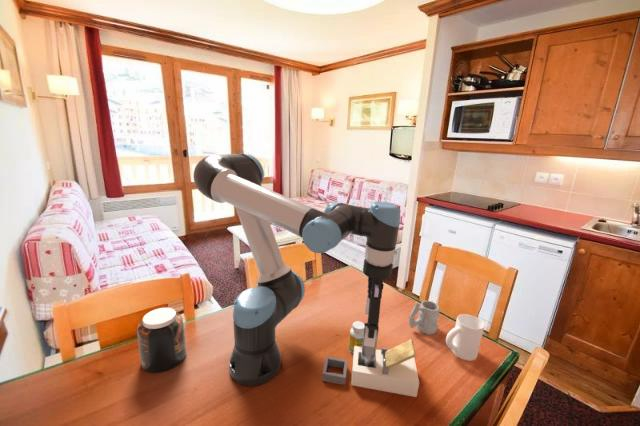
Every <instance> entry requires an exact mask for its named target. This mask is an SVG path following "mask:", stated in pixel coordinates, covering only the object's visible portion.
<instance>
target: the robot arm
mask: <svg viewBox="0 0 640 426" xmlns="http://www.w3.org/2000/svg"><path fill="white" fill-rule="evenodd" d="M264 177H265V172H264V167H263V165H262V163H261V162H260V161H259V159H258V158H256V157H255V156H254V155H251V154H249V153H248V154H247V153H242V152H241V153H240V152H236V153H230V154H228V153H227V154H211V155H207V156H205V157H203V158H202V159H200V160H199V161H198V162H197V163H196V165H195V166H194V171H193V182H194V184H195V187H196V189H197V190H198V191H199V192H200V193H201V194H202V195H203V196H205V197H206V198H208V199H210V200H211V201H214V202H216V203H219V204H223V203H227V204H229V205H232V206H234V208H235V211H236V213H237V216H238V218H239V221H240V224H241V226H242V230H243V233H244V235H245V238H246V240H247V243H248V247H249V248H250V251H251V255H252V256H253V261H254V262H255V265H256V268H257V271H258V273H259V276H258V277H257V280H256V281H257V285H258V286H254V287H253V288H252V287H249V288H247V289H245V290H243V291H241V292H240V293H239V294H238V295H237V296H236V298H235V300H234V302H233V310H232V319H233V335H234V336H233V337H234V345H233V349H232V352H231V354H230V358H229V360H228V368H229V369H228V370H229V374H230V376H231V379H232V380H233V381H235V382H236V383H238V384H240V385H243V386H249V387H251V386H252V387H253V386H259V385H263V384H265V383H267V382H269V381H270V380H272V379H273V378H274V377H275V376H276V375H277V373H278V372H279V370H280V368H281V363H282V362H281V360H282V359H281V358H282V354H281V351H280V350H279V346H278V345H277V342H276V328H277V326H278V324H280V323H281V322H282V321H283V320H284V319H285V318H286V317H287V316H288V315H289V314H291V312H292V311H294V310H295V309H296V308H297V307H298V306H299V305H300V303H301V302H302V301H303V299H304V297H305V292H306V289H305V284H304V281H303V279H302V277H301V276H300V275H298V273H297V272H295V271H293V269H292V267H291V266H289V265H287V264H285V261H284V259H283V256H282V253H281V250H280V247H279V245H278V242H277V239H276V236H275V234H274V230H273V229H272V225H271V224H273V225H275V226H277V227H279V228H281V229H283V230H285V231H287V232H290V233H292V234H293V235H296V236H298V237H300V238H302V241H303V244H304V245H305V246H306V247H307V249H308V250H309V251H311V252H313V253H315V254H323V253H326V252H329V251H330V250H333V249H334V248H336V247H337V246H338V245H339V244H340V242H342V241H343V240H344V239H346V238H347V237H348V236H349V235H354V236H360V237H365V238H366V243H365V248H364V249H365V250H364V256H363V257H364V260H363V266H362V272H363V274H364V275H365V276H366V277H368V278H367V283H368V284H367V294H366V299H365V300H366V301H365V302H366V303H365V308H364V315H367V322H366V323H365V322H363V323H364V326H366V332H365V339H364V346H369V347H374V346H375V339H376V333H377V330H378V328H379V323H380V311H381V301H382V300H381V299H382V295H383V290H384V281H386V280H389V279H391V276H392V273H393V266H394V265H393V263H394V258H395V255H396V256H397V254H398V252H397V250H396V248H397V247H396V246H397V240H398V236H399V235H398V234H399V229H400V225H401V223H400V222H401V221H400V219H401V208H400V206H399V205H398V204H395V203H392V202H389V201H388V202H387V201H373V202H372V203H371V205H370V207H368V208H367V207H363V206H358V205H353V204H348V203H344V202H334V201H332V202H330V203H328V204H327V206H326V207H325V209H324V212H323V211H322V210H319V209H317V208H314V207H312V206H310V205H307V204H305V203H302V202H300V201H297V200H295V199H293V198H290V197H288V196H286V195H284V194H281V193H278V192H276V191H274V190H271V189H269V188H266V187H264V186H262V183H263V182H264Z"/></svg>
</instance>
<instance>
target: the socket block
mask: <svg viewBox="0 0 640 426" xmlns="http://www.w3.org/2000/svg"><path fill="white" fill-rule="evenodd" d="M387 350H388V347H386V346H382V347H381V349H377V348H376V355H375V363H374V368H372V367H366V366H360V363H361V354H362V347H359V346H354V354H352V356H353V357H352V370H351V379H350V380H351V384H350V386H353V387H354V386H355V387H360V388H365V389H371V390H376V391H380V392H381V391H382V392H387V393H392V394H398V395H403V396H408V397H414V398H418V397H417V396H418V391H419V385H420V380H419V376H418V370H417V365H416V359H415V357H413V358H411V359H409V360H407V361H404V362H402V363H400V364H398V365H396V366H393V367H391V368H389V367H384V366H383V352H385V351H387Z"/></svg>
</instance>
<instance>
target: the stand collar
mask: <svg viewBox="0 0 640 426" xmlns="http://www.w3.org/2000/svg"><path fill="white" fill-rule="evenodd" d="M328 367H332V368H333V367H334V368H340V369H343V374H339V373H335V372H328ZM347 368H348V360H347V359H342V358H338V357H332V356H331V357H330V356H325V360H324V365H323V371H322V375H321V376H322V378H321V379H322V380H321V381H322V382H327V383H333V384H338V385H343V386H345V385H346V381H347V379H346V378H347V371H348V369H347Z"/></svg>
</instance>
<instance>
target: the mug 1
mask: <svg viewBox="0 0 640 426" xmlns="http://www.w3.org/2000/svg"><path fill="white" fill-rule="evenodd" d="M417 314H418V316H417V319H415V317H416V315H417ZM439 317H440V306H439V305H438V304H437V303H436V302H434V301H431V300H423V301H421V303H420V304H419V302H418V301H415V302H414V306H413V308H412V310H411V312H410V314H409V315H408V324H409V326H410V328H411V329H414V328H415V327H416V329H417V330H418V331H420V333H422V334H425V335H430V336H431V335H434V334H436V332H437V331H438V328H439V326H438V322H439V321H438V320H439Z"/></svg>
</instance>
